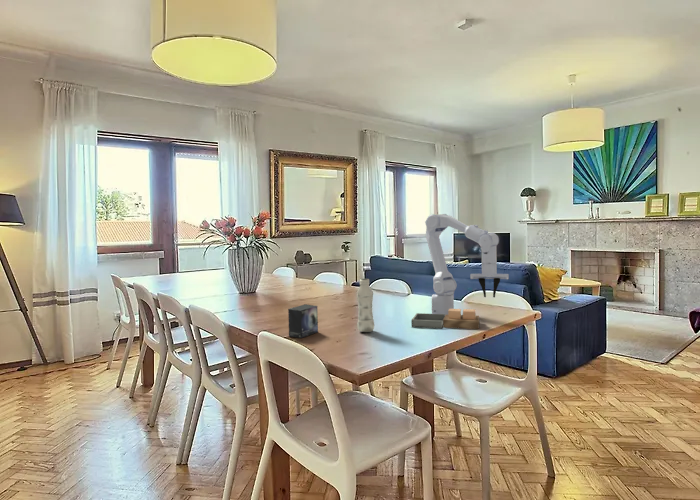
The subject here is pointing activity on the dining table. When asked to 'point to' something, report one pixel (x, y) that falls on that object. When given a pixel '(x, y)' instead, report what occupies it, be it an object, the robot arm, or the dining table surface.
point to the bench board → (461, 323)
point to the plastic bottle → (365, 307)
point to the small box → (303, 320)
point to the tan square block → (454, 314)
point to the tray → (428, 320)
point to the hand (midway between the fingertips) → (489, 296)
